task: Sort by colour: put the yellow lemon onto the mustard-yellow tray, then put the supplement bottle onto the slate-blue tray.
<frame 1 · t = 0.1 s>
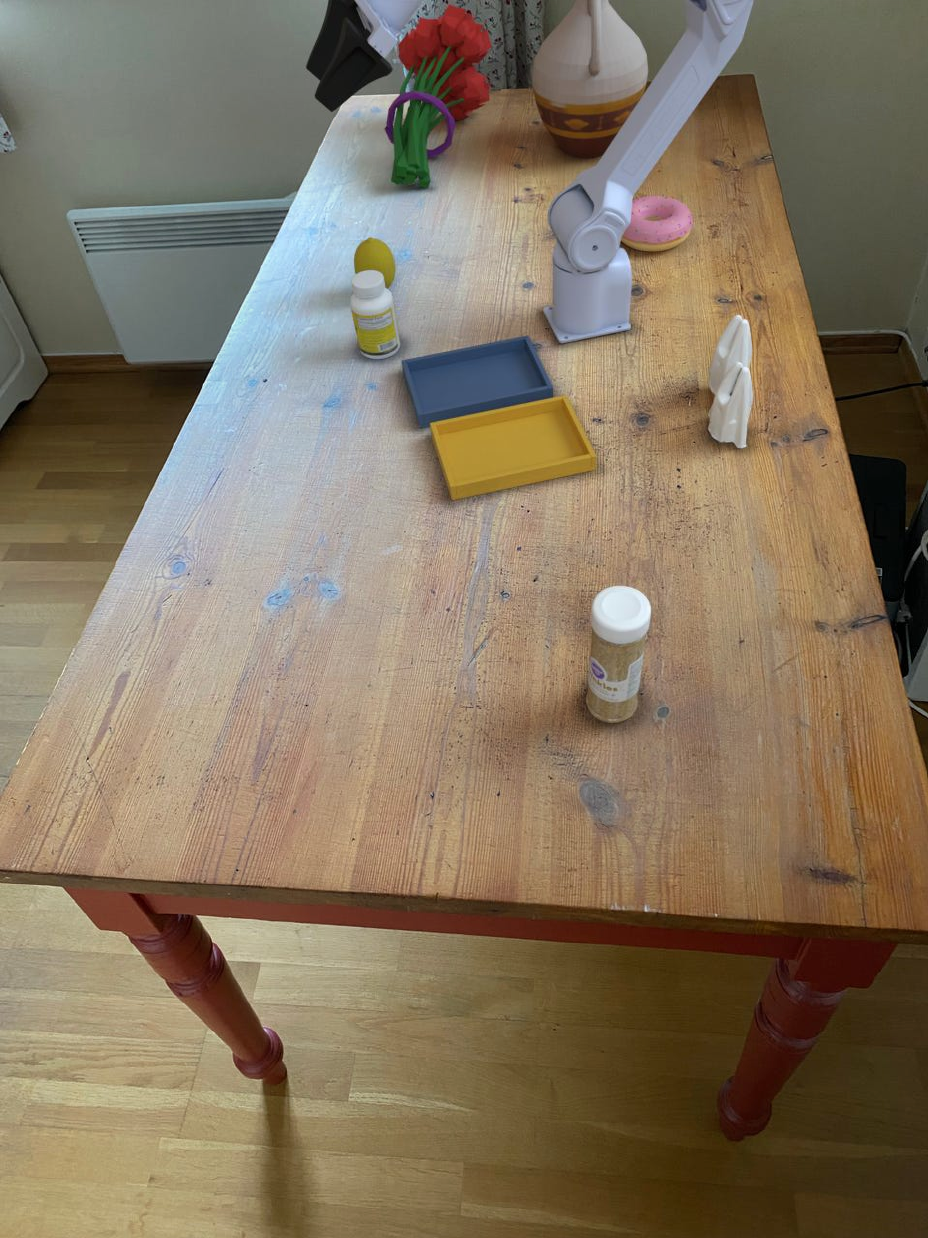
hand: (318, 88, 88), 32 cm above the table, tool tilted 50°, fingers open, 7 cm apart
supplement bottle: (380, 349, 115), on the table
shaker set: (725, 415, 102), on the table
blue tray: (476, 387, 108), on the table
jug: (587, 150, 146), on the table
doughnut: (652, 237, 127), on the table
sprinkles bottle: (611, 704, 78), on the table
bouquet: (436, 153, 150), on the table
yellow tray: (511, 452, 100), on the table
lemon: (379, 294, 123), on the table
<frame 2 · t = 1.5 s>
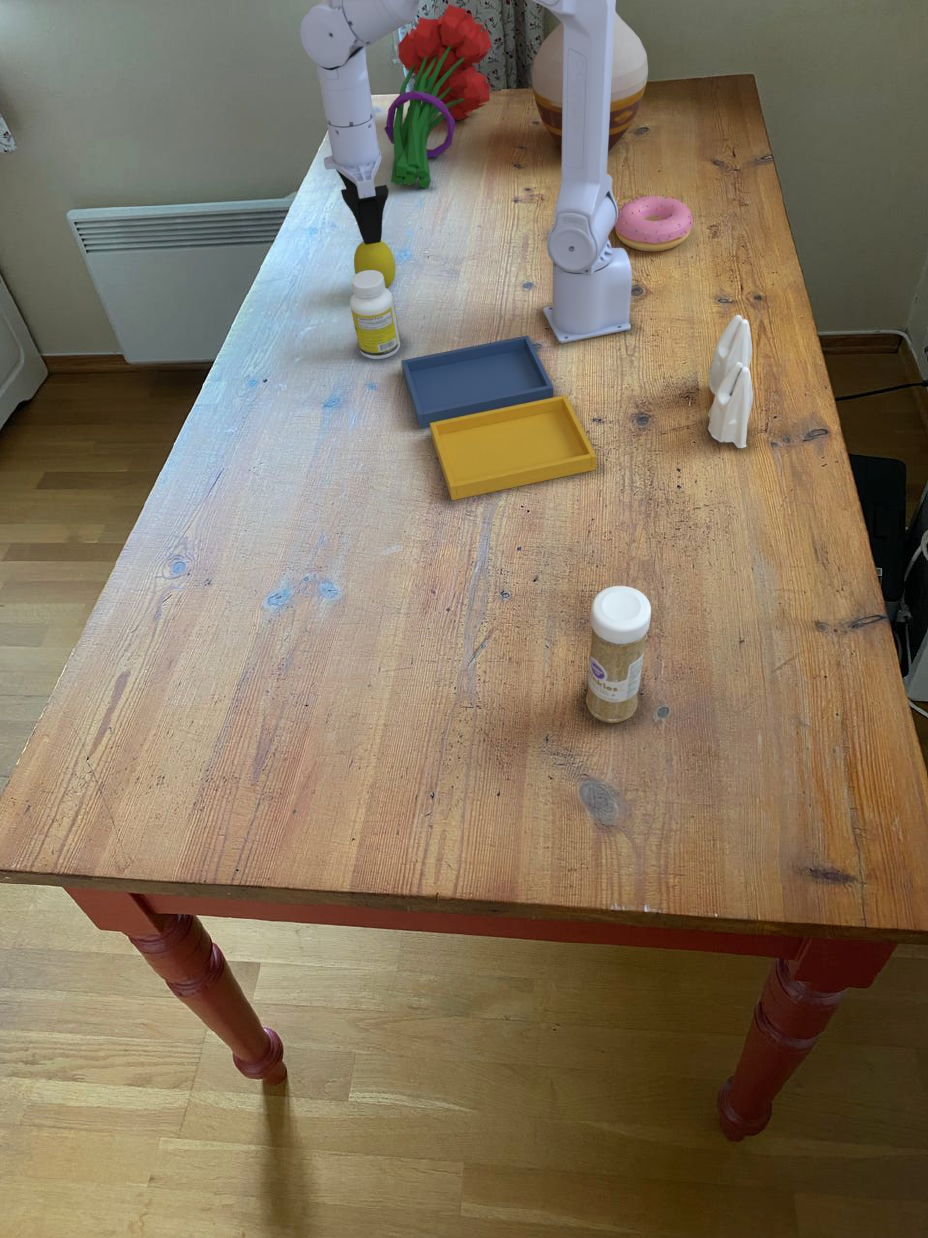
hand: (368, 227, 116), 9 cm above the table, tool pointing down, fingers open, 7 cm apart
nothing on the table moved.
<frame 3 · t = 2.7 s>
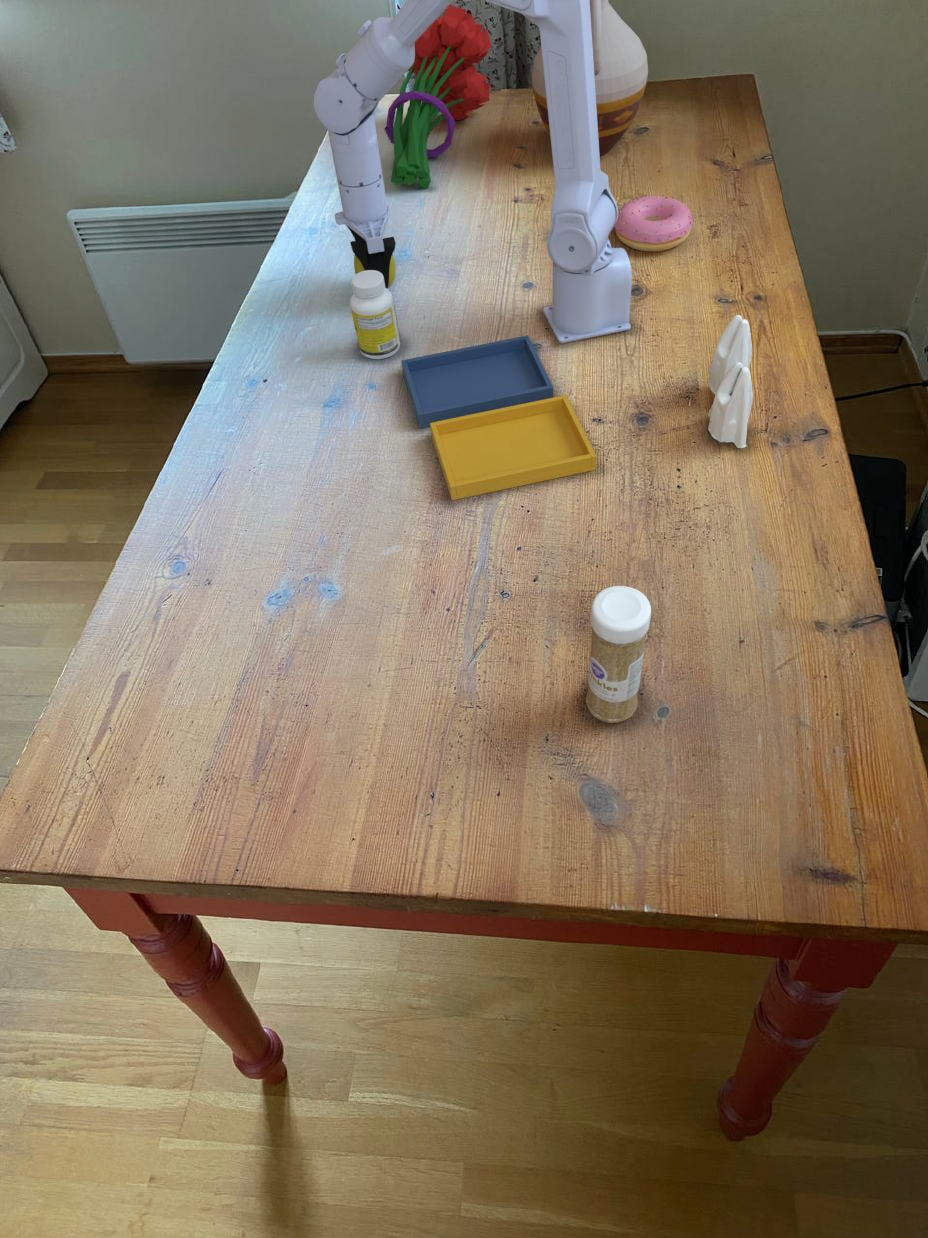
hand: (376, 277, 121), 2 cm above the table, tool pointing down, fingers closed on lemon, 5 cm apart
lemon: (379, 294, 123), on the table, touching gripper
everything else where it was.
when the fingers open (3 cm above the table, at t = 9.2 s): lemon stays where it is, resting on yellow tray.
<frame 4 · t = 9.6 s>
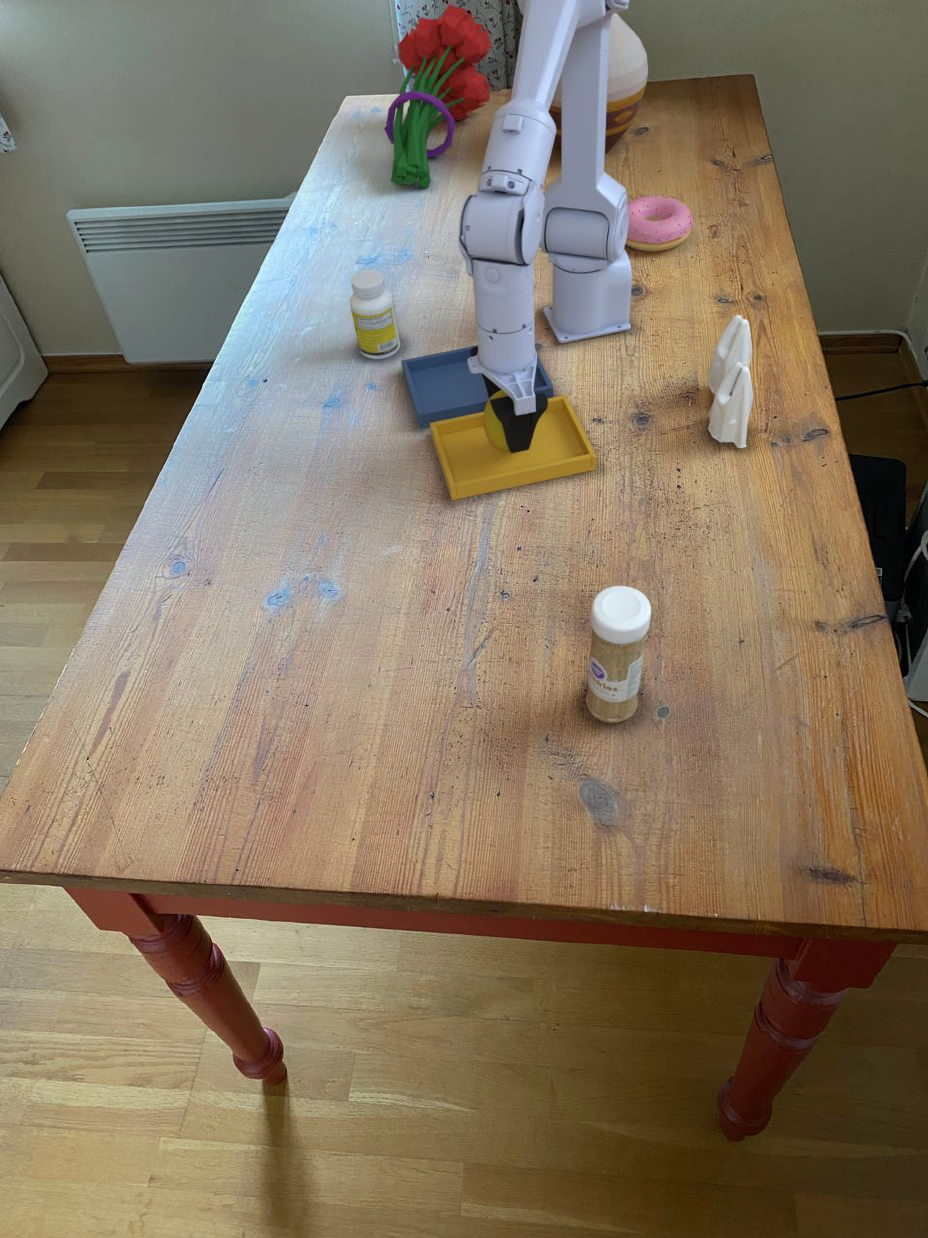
hand: (510, 427, 97), 4 cm above the table, tool pointing down, fingers open, 7 cm apart
lemon: (510, 451, 100), resting on yellow tray
everything else where it was.
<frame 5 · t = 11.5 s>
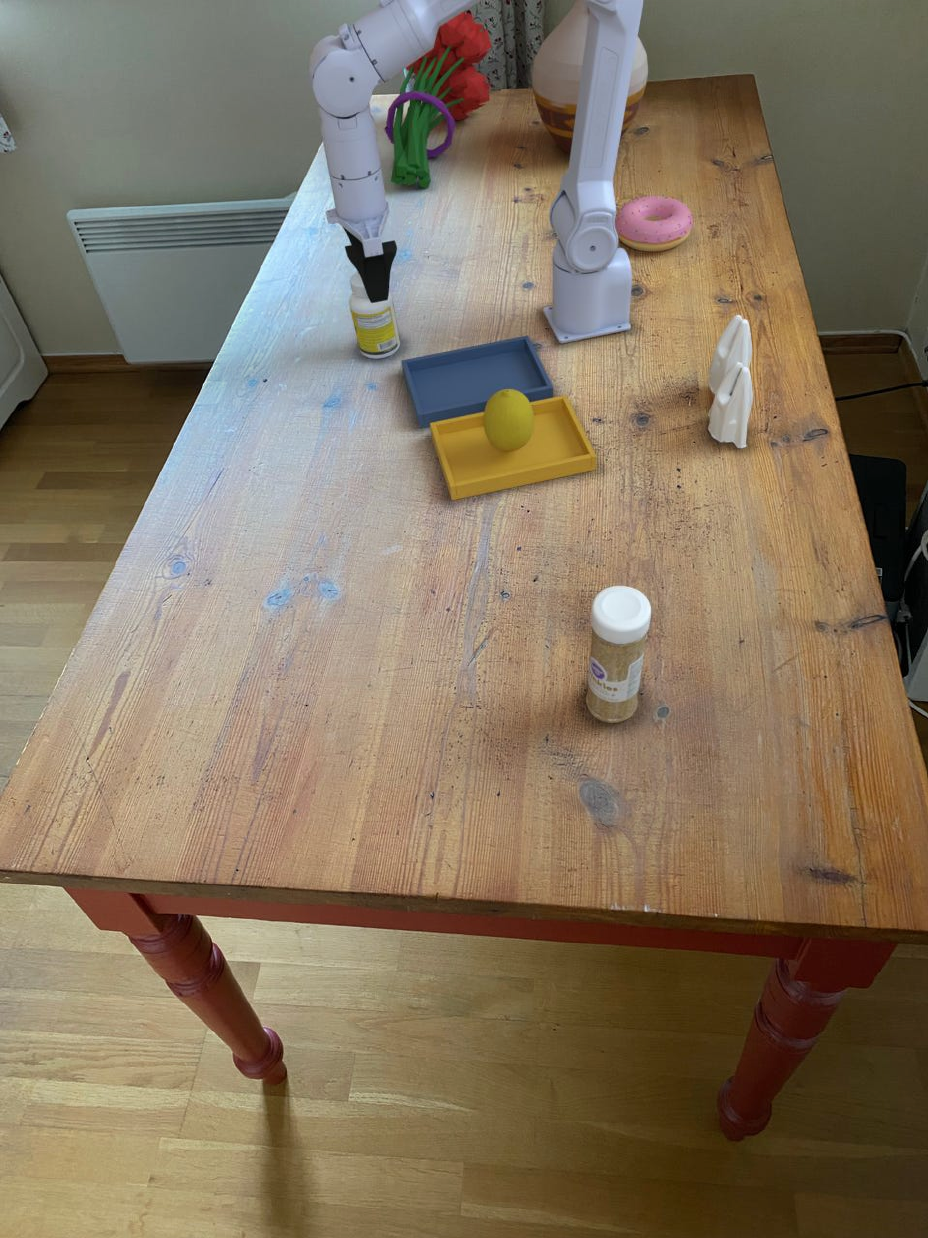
hand: (373, 283, 107), 10 cm above the table, tool pointing down, fingers open, 7 cm apart
supplement bottle: (380, 349, 115), on the table, touching gripper
everything else where it was.
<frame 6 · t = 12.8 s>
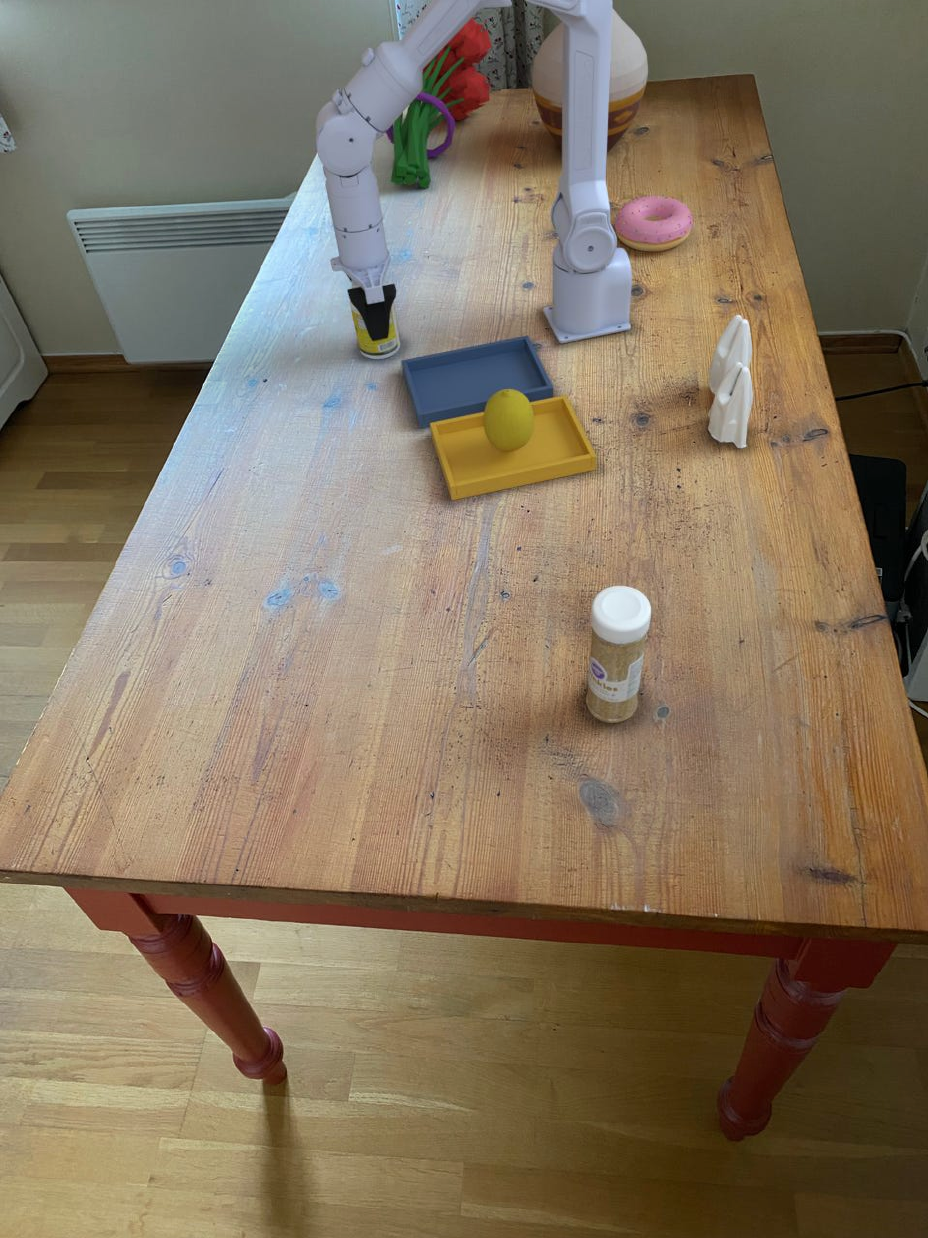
hand: (375, 324, 112), 3 cm above the table, tool pointing down, fingers closed on supplement bottle, 5 cm apart
supplement bottle: (380, 349, 115), on the table, touching gripper
everything else where it was.
when the fingers open (4 cm above the table, at t = 17.3 s): supplement bottle stays where it is, resting on blue tray.
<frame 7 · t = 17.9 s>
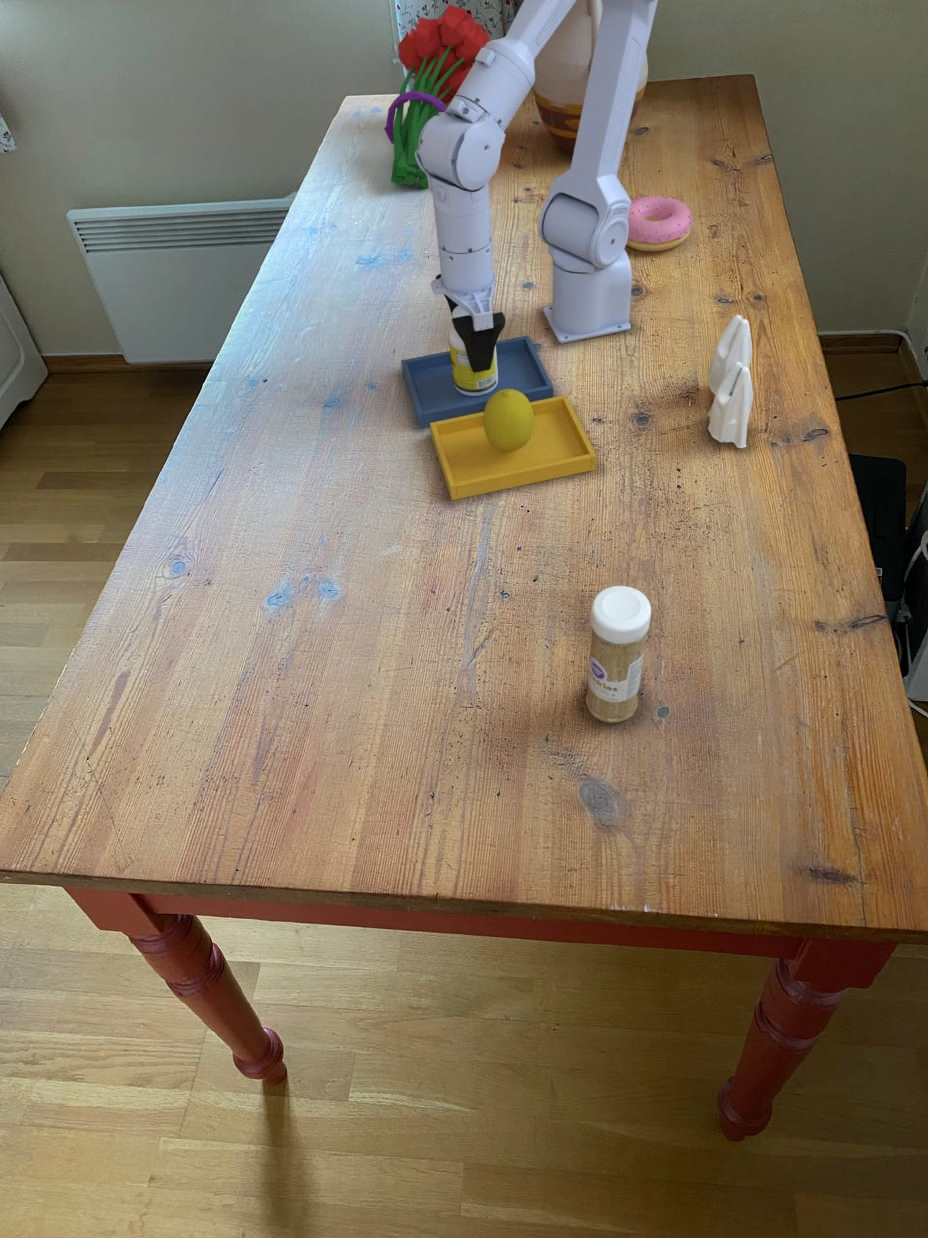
hand: (473, 350, 104), 5 cm above the table, tool pointing down, fingers open, 7 cm apart
supplement bottle: (476, 385, 108), resting on blue tray
everything else where it was.
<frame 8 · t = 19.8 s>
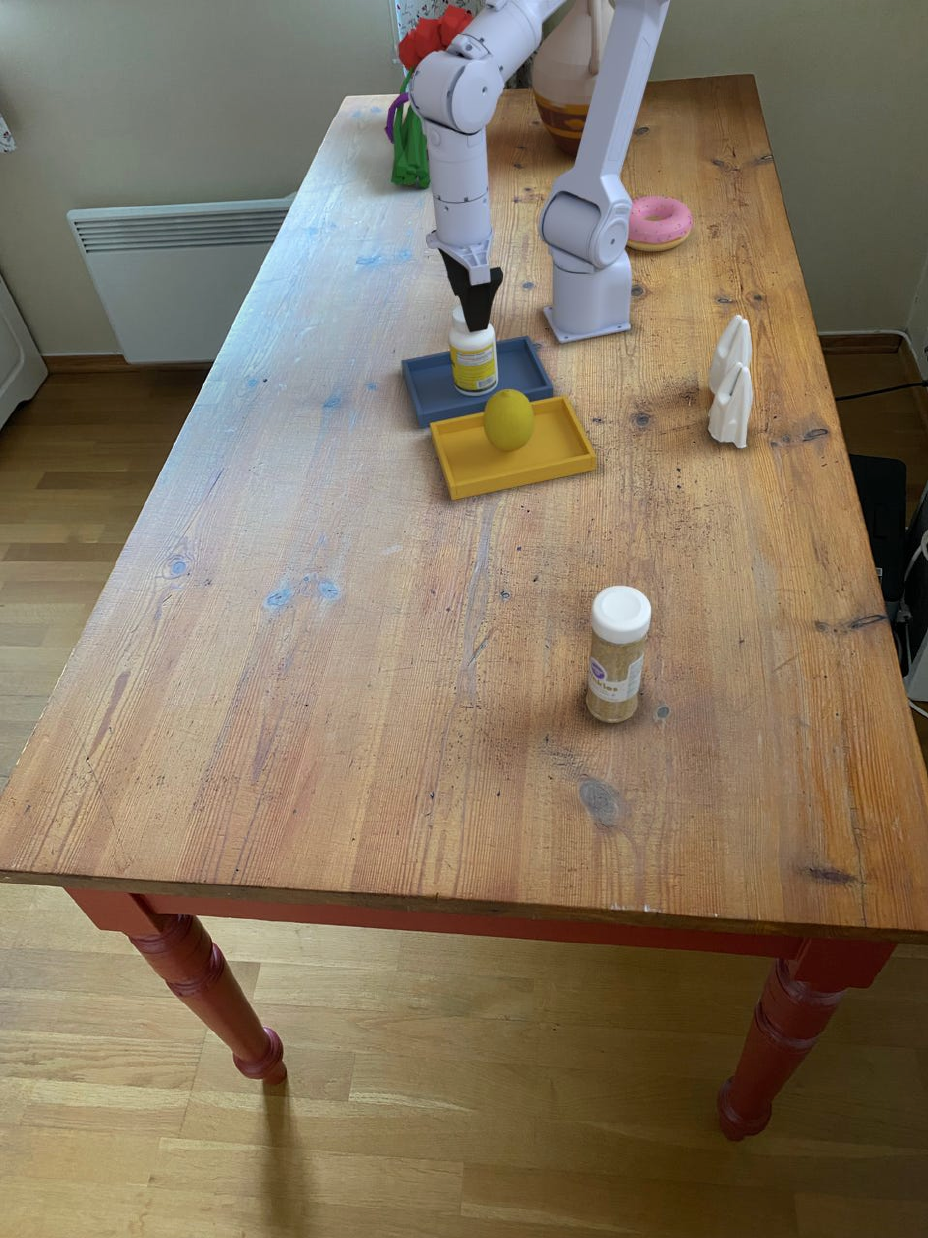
hand: (470, 310, 100), 10 cm above the table, tool pointing down, fingers open, 7 cm apart
nothing on the table moved.
at the end: lemon inside the target area on the yellow tray (0.1 cm from its centre), point 0.3 cm above the yellow tray's base; supplement bottle inside the target area on the blue tray (0.0 cm from its centre), point 0.3 cm above the blue tray's base; supplement bottle tilted 0° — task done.
